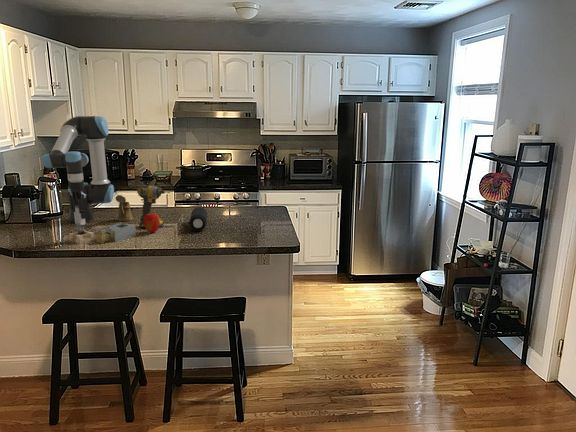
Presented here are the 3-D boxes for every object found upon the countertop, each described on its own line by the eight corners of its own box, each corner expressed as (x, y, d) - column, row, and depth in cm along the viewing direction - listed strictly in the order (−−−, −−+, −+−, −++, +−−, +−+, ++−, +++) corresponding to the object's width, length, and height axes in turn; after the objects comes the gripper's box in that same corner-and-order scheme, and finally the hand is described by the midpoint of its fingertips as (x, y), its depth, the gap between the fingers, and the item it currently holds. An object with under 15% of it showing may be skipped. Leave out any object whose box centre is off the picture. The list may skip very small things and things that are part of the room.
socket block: (102, 238, 264) (101, 228, 263) (122, 232, 276) (122, 222, 274) (115, 241, 259) (114, 231, 257) (136, 235, 270) (135, 225, 269)
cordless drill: (167, 229, 282) (165, 188, 276) (136, 228, 286) (133, 186, 280) (174, 226, 291) (172, 185, 285) (144, 224, 294) (141, 184, 288)
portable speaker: (192, 221, 301) (191, 206, 299) (207, 221, 303) (207, 205, 300) (189, 232, 277) (188, 216, 275) (206, 232, 278) (206, 215, 276)
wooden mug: (113, 223, 296) (111, 195, 291) (120, 218, 309) (118, 190, 305) (128, 223, 296) (126, 195, 292) (134, 218, 309) (132, 190, 305)
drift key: (96, 241, 258) (95, 234, 256) (112, 237, 266) (112, 229, 265) (102, 243, 255) (101, 235, 254) (118, 238, 264) (117, 230, 263)
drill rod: (76, 237, 260) (73, 205, 256) (82, 236, 263) (79, 204, 259) (80, 238, 258) (77, 206, 254) (86, 236, 261) (83, 204, 257)
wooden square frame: (69, 241, 260) (68, 234, 259) (84, 237, 267) (83, 230, 266) (80, 243, 255) (79, 236, 254) (94, 239, 262) (93, 232, 261)
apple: (160, 233, 274) (158, 213, 271) (143, 234, 272) (142, 214, 269) (160, 229, 282) (159, 209, 280) (145, 230, 281) (143, 210, 278)
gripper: (59, 180, 254) (64, 223, 260) (79, 183, 246) (84, 227, 251) (72, 178, 260) (77, 220, 266) (92, 181, 252) (96, 224, 258)
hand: (80, 223), depth 259 cm, fingers closed on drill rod, 3 cm apart
